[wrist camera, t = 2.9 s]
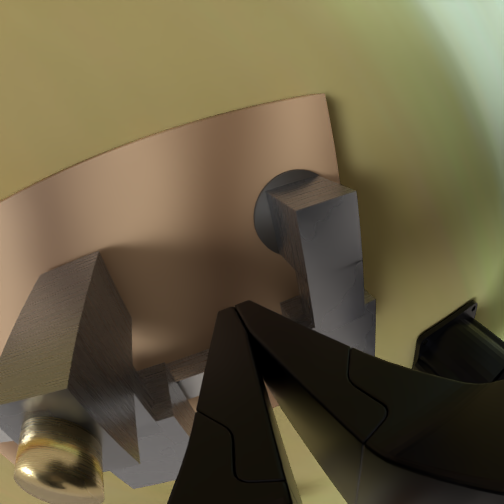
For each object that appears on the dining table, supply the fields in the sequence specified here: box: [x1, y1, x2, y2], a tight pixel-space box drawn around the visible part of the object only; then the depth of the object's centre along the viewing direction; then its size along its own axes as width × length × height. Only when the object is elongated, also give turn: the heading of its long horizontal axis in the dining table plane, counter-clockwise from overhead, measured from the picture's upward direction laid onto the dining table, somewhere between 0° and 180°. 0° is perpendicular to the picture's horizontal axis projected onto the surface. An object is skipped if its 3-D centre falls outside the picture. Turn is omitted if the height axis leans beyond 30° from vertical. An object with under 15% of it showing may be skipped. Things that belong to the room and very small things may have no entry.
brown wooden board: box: [0, 93, 340, 465], centre depth 12 cm, size 22×14×1 cm, turn 103°
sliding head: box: [0, 251, 196, 504], centre depth 8 cm, size 4×8×7 cm, turn 13°
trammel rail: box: [0, 175, 376, 443], centre depth 10 cm, size 20×8×3 cm, turn 103°
